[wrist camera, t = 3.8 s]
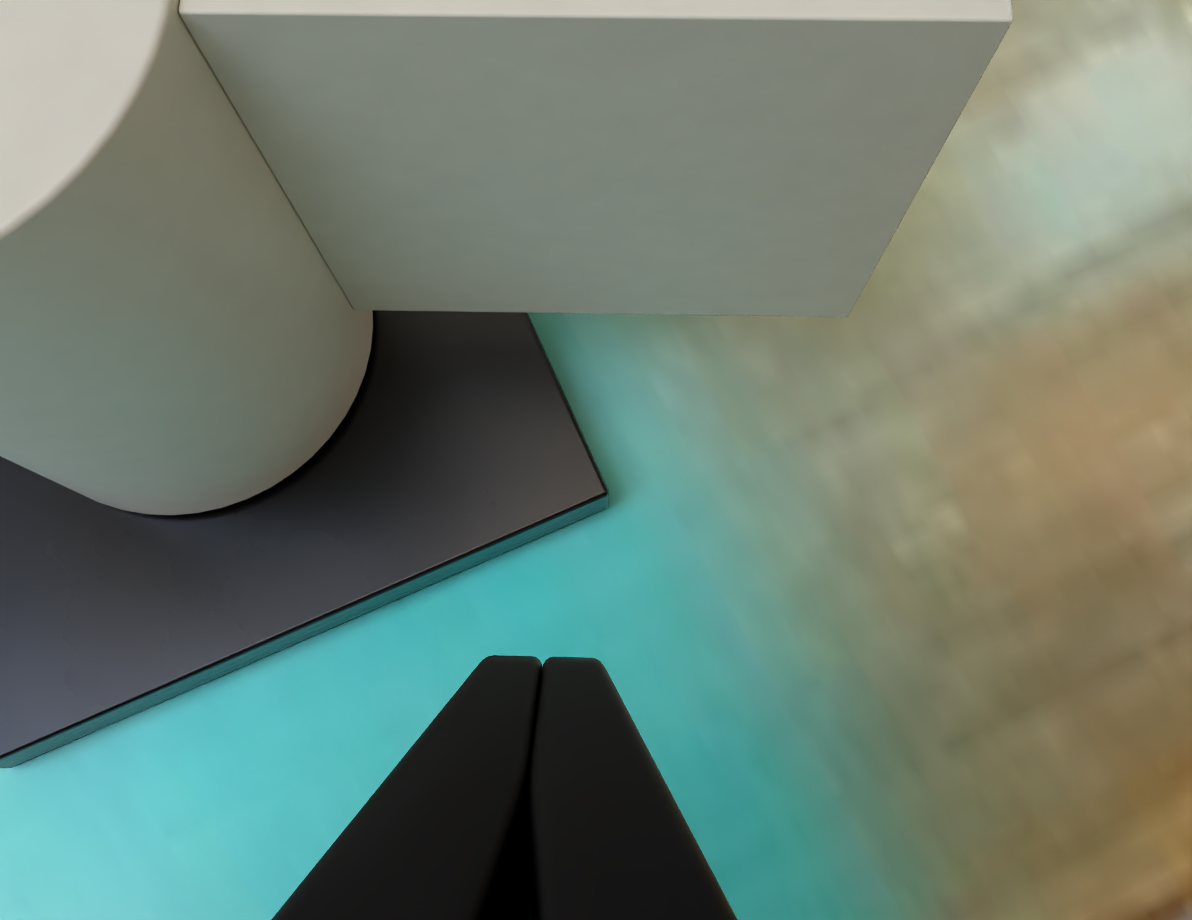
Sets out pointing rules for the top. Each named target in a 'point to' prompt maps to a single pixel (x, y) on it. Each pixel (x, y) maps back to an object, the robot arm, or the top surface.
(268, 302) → the towel roll
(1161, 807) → the top surface
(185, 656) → the holder
